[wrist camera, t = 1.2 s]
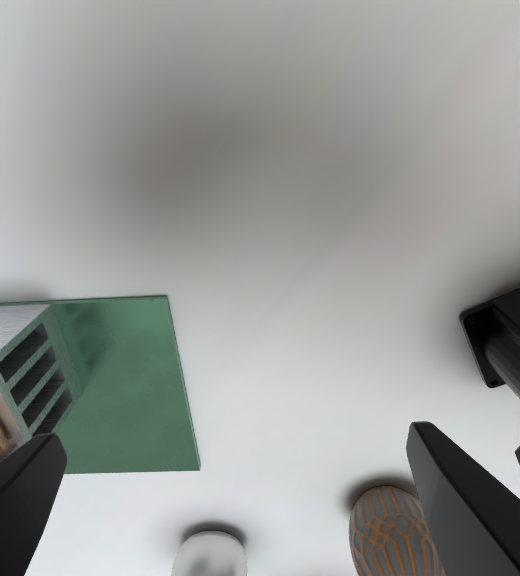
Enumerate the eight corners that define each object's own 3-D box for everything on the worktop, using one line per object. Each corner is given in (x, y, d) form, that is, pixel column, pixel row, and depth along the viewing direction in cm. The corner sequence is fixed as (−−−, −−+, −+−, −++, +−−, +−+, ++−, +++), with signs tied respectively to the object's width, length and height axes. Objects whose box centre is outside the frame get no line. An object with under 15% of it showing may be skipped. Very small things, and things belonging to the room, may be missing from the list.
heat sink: (166, 295, 21) (121, 381, 15) (200, 465, 28) (180, 577, 22) (-102, 307, 22) (-266, 395, 15) (-5, 471, 29) (-88, 581, 22)
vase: (436, 508, 31) (495, 645, 23) (363, 532, 32) (395, 668, 24) (404, 462, 28) (458, 599, 20) (327, 492, 30) (349, 628, 22)
